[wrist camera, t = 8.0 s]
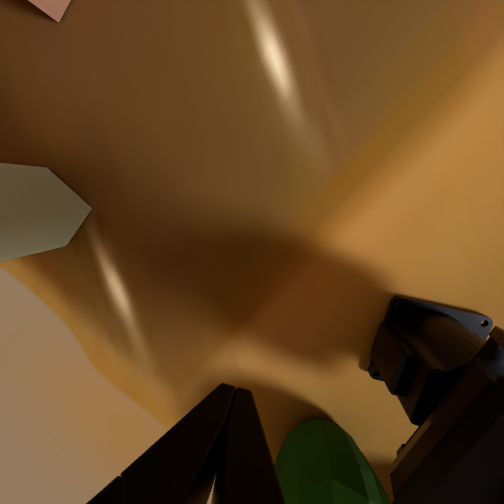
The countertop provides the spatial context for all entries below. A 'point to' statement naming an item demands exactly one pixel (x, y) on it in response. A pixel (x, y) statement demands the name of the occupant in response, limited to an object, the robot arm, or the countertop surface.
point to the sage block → (36, 211)
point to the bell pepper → (325, 467)
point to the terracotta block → (52, 7)
